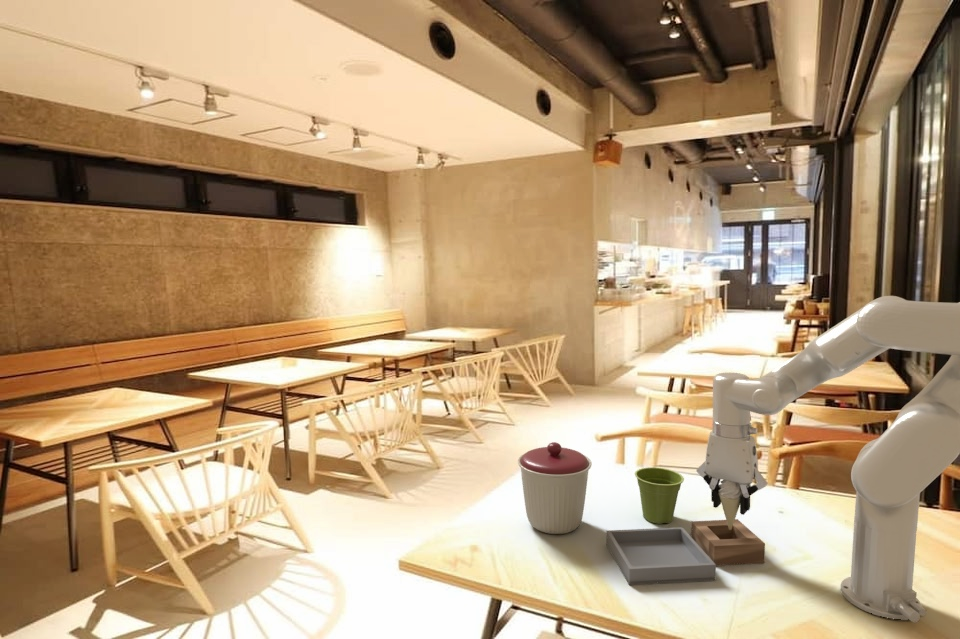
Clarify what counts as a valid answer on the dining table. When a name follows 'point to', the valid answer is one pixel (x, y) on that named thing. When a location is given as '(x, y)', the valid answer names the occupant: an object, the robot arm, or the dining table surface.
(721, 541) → the cone stand
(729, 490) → the ice cream cone
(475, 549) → the dining table surface
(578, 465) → the canister
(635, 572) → the grey tray
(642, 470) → the plant pot
